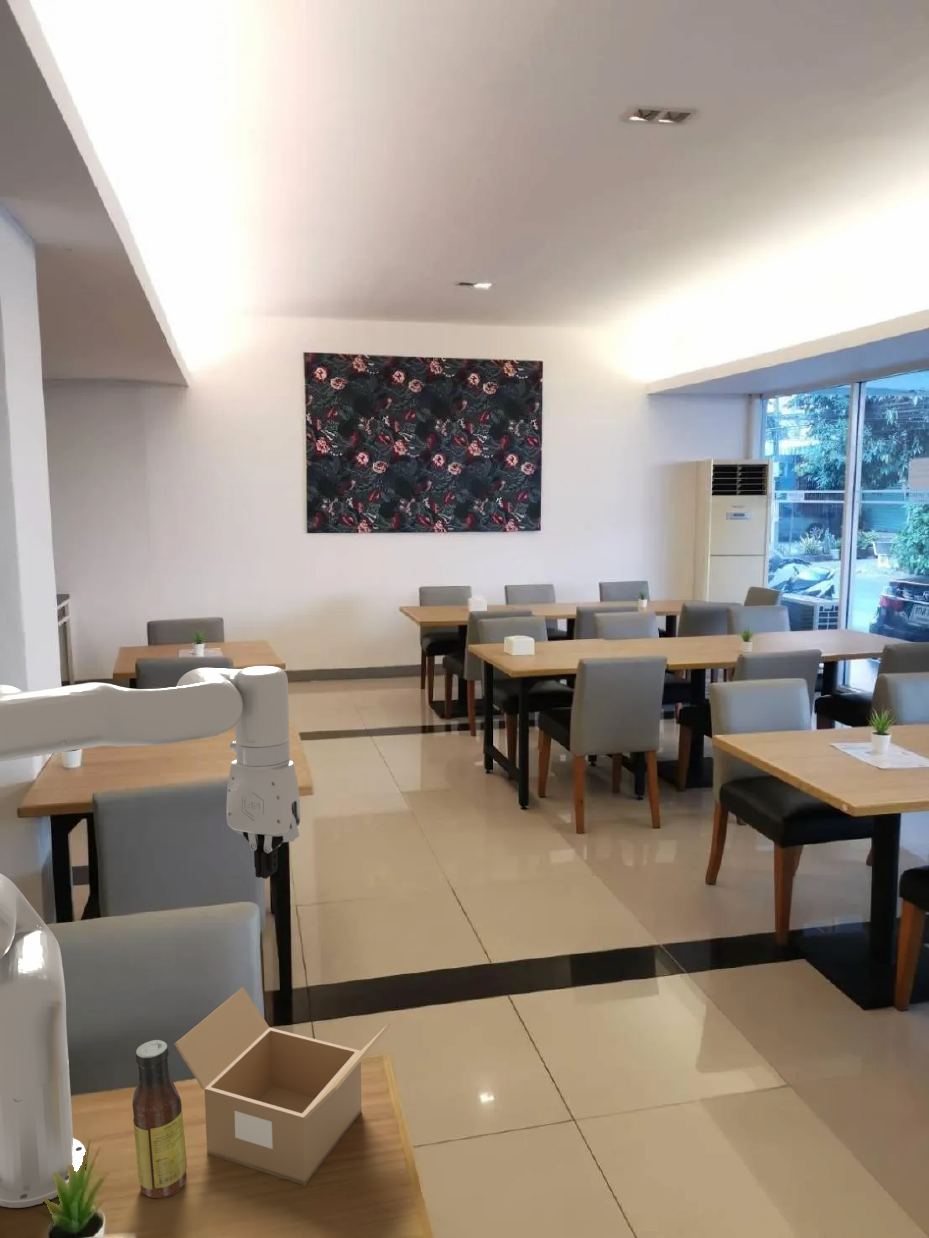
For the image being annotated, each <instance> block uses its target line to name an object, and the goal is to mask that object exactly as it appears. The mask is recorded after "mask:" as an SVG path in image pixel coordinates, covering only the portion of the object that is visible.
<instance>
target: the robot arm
mask: <svg viewBox="0 0 929 1238" xmlns="http://www.w3.org/2000/svg"><path fill="white" fill-rule="evenodd" d="M288 682H289V680H288V674H287V673H286V671H285V670H284V669H282V668H280V667H277V666H273V665H272V666H270V665H258V666H257V665H255V666H248V667H244V668H240V669H237V668H236V669H235V668H220V667H219V668H217V667H215V668H214V667H199V668H198V667H197V668H194V669H192V670H190V671H188V672H186V673H184V674H183V675H182V676H181V677H180V678H179V680H178V682H177V683H176V686H174V687H166V688H165V687H164V688H151V689H150V688H149V689H145V688H142V689H141V688H140V689H139V688H129V687H124V686H118V685H115V684H112V683H106V682H96V681H95V682H92V681H91V682H84V683H78V684H77V683H76V684H70V685H64V686H63V685H62V686H55V687H49V688H47V687H46V688H42V689H40V688H39V689H34V690H33V689H31V690H22V689H19V688H18V687H16V686H12V685H7V684H0V762H7V761H9V762H10V761H17V760H22V759H27V758H35V757H39V756H45V755H52V754H58V753H65V752H71V751H78V750H82V749H83V750H84V749H91V748H97V747H134V746H135V747H136V746H137V747H139V746H140V747H142V746H143V747H144V746H147V747H148V746H149V747H150V746H151V747H152V746H165V745H173V744H180V743H186V742H191V741H198V740H203V739H204V740H205V739H208V738H214V737H217V736H220V735H222V734H225V733H226V732H229V731H231V730H232V729H233V728H234V733H235V741H234V740H233V741H232V742H230V744H229V745H230V750H231V751H233V752H235V760H233V761H231V765H230V769H229V773H228V781H227V789H226V807H225V808H226V813H225V814H226V823H227V826H228V827H229V828H230V829H232V832H234V833H237V834H239V835H241V836H243V837H244V838H245V839H246V841H247V842H248V843H249V848H250V850H251V851H253V857H254V858H253V859H254V860H253V861H254V862H253V863H254V870H255V877H256V878H262V879H265V880H267V879H268V878H269V877H271V876H273V875H274V874H275V873H276V872H277V871H278V867H279V859H278V858H279V855H278V854H279V853H278V850H279V849H278V848H279V847H281V845H282V844H283V843H289V842H294V841H296V840H297V839H299V837H300V834H299V828H298V827H299V825H300V823H301V803H300V801H301V799H300V790H299V789H300V788H299V783H298V777H297V772H296V768H295V764H294V762H293V761H292V760H291V758H290V757H291V754H290V749H291V748H290V718H289V717H290V716H289V715H290V714H289V712H290V711H289V710H290V709H289V683H288ZM62 960H63V958H62V952H61V947H60V944H59V942H58V940H57V938H56V936H55V935H54V933H53V932H52V931H51V929H50V928H49V927H48V925H47V924H46V923H45V922H44V920H43V919H42V918H41V916H40V915H39V914H38V912H37V911H36V910H35V909H34V907H33V906H32V904H31V903H30V902H29V900H27V898H26V896H25V895H24V894H23V893H22V891H21V890H20V889H19V888H18V887H17V885H16V884H15V883H14V881H12V880H11V879H9V878H8V877H7V876H5V875H4V874H2V873H0V1207H3V1208H4V1207H5V1208H10V1209H13V1208H14V1209H17V1208H18V1209H21V1208H27V1207H33V1206H36V1205H40V1204H43V1201H42V1199H43V1198H44V1197H47V1198H48V1199H50V1200H49V1201H51V1200H53V1199H54V1198H55V1199H56V1197H58V1196H57V1190H56V1184H55V1181H54V1178H53V1176H52V1175H53V1173H55V1172H56V1173H58V1174H59V1175H60V1176H61V1177H62V1178H63V1180H64V1182H65V1183H66V1184H68V1182H69V1180H68V1178H69V1172H68V1166H69V1165H73V1167H74V1171H76V1172H77V1171H78V1170H79V1168H80V1166H81V1165H82V1162H83V1156H84V1155H85V1152H86V1153H87V1150H86V1147H85V1146H84V1144H83V1143H82V1142H81V1141H80V1140H78V1139H76V1138H74V1128H73V1113H72V1097H71V1094H72V1093H71V1082H70V1081H71V1080H70V1066H69V1065H70V1064H69V1063H70V1062H69V1051H68V1049H69V1047H68V1036H67V1035H68V1033H67V1002H66V1001H67V1000H66V999H67V998H66V995H67V994H66V985H65V984H66V983H65V977H64V968H63V967H64V966H63V961H62Z"/></svg>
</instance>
